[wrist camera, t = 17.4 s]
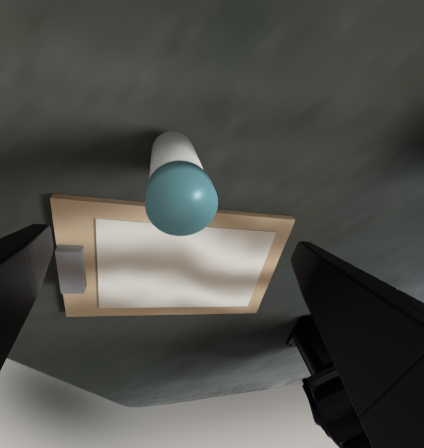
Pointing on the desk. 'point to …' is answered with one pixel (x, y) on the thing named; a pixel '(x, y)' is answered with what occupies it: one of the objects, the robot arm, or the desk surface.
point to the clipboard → (161, 260)
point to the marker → (178, 187)
